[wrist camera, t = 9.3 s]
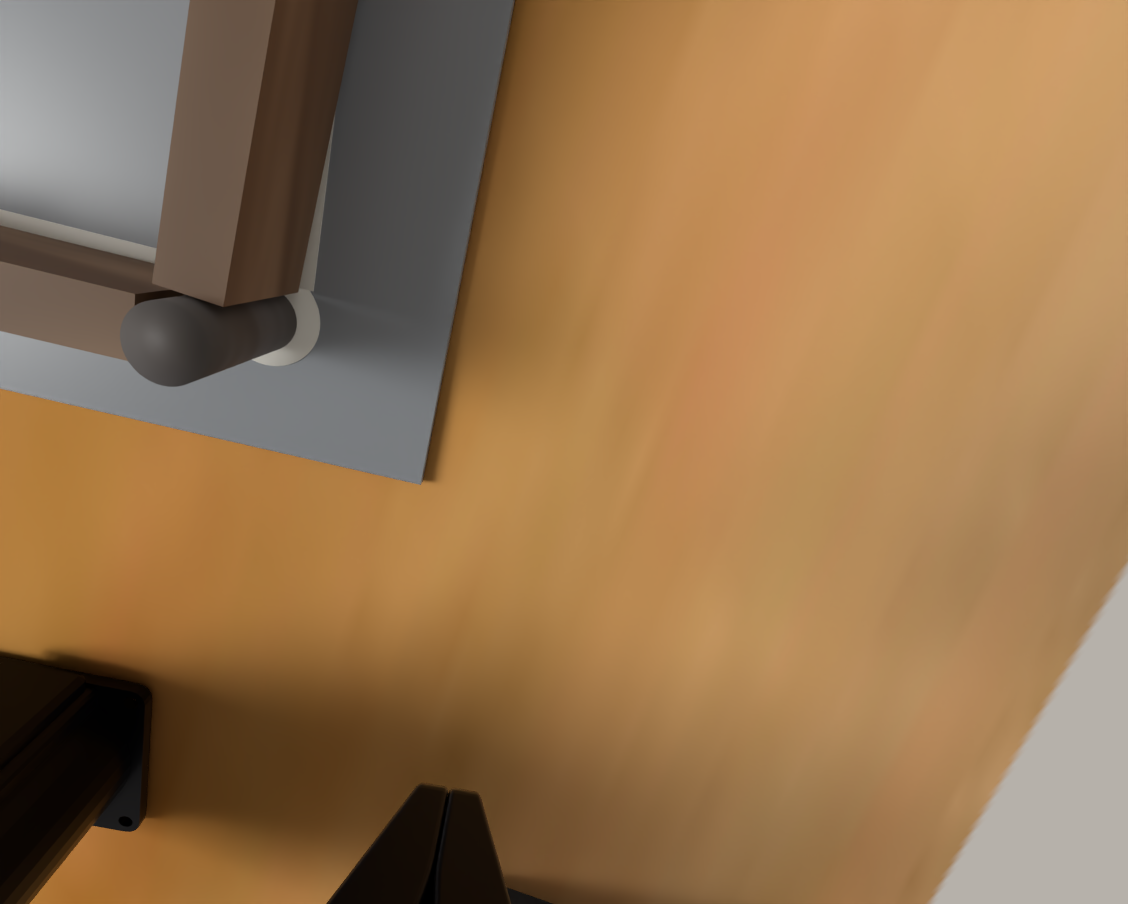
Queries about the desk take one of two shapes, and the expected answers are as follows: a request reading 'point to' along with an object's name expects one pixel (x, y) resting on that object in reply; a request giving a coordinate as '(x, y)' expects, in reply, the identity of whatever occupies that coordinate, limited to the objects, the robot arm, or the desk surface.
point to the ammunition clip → (523, 898)
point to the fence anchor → (129, 311)
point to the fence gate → (249, 145)
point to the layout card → (338, 234)
